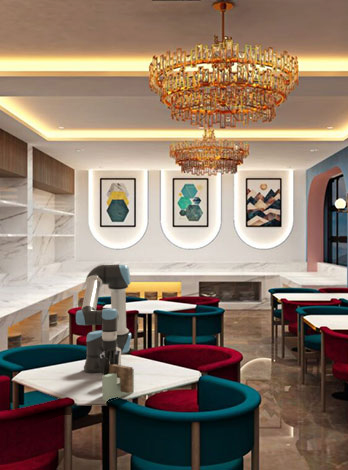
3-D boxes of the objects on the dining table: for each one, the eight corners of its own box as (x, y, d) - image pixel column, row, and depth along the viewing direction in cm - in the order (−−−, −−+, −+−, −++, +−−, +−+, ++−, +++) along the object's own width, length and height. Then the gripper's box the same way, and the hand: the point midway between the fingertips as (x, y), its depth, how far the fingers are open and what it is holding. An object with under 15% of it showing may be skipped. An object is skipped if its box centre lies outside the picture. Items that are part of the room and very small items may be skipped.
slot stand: (106, 401, 262) (106, 376, 262) (102, 400, 263) (102, 375, 264) (133, 392, 278) (133, 368, 278) (129, 391, 280) (129, 368, 280)
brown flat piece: (104, 388, 274) (104, 364, 274) (108, 386, 277) (108, 363, 277) (128, 393, 265) (128, 368, 265) (132, 391, 267) (132, 367, 267)
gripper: (103, 342, 266) (104, 390, 265) (125, 337, 279) (125, 383, 279) (92, 341, 270) (92, 388, 270) (114, 336, 283) (114, 381, 283)
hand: (109, 385), depth 274 cm, fingers closed on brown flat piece, 3 cm apart
